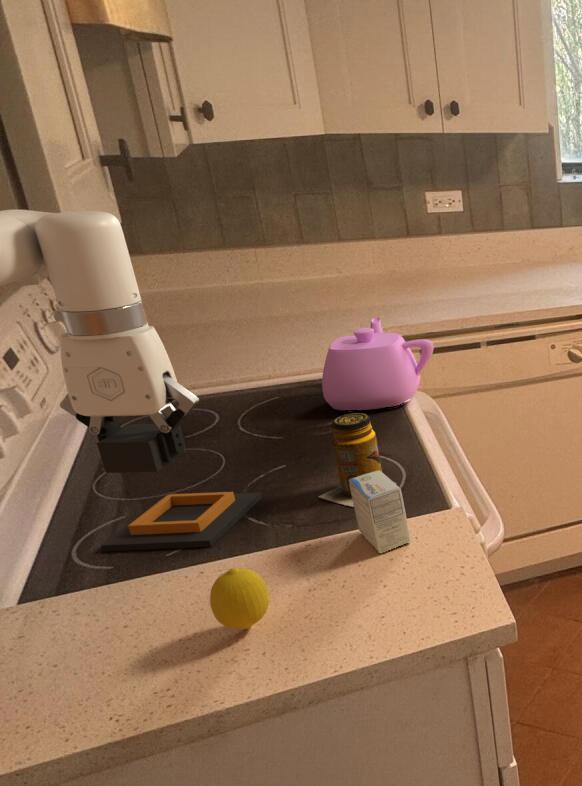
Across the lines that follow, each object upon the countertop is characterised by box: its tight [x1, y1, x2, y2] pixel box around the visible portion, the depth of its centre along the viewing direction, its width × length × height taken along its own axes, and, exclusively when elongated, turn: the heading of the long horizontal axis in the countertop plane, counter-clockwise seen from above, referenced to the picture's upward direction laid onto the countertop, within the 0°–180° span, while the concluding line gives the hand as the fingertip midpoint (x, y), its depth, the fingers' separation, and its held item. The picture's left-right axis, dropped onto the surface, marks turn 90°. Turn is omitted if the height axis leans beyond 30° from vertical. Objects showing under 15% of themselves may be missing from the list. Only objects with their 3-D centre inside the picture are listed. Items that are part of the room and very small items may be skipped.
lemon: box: [209, 567, 270, 630], centre depth 89 cm, size 6×6×8 cm
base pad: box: [100, 491, 262, 552], centre depth 112 cm, size 14×14×2 cm
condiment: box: [317, 412, 397, 508], centre depth 120 cm, size 7×8×12 cm
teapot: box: [321, 316, 435, 411], centre depth 159 cm, size 23×21×15 cm
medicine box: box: [349, 471, 412, 554], centre depth 107 cm, size 8×4×9 cm, turn 43°
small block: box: [96, 423, 187, 474], centre depth 97 cm, size 6×6×4 cm
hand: (146, 457), depth 98 cm, fingers closed on small block, 6 cm apart
